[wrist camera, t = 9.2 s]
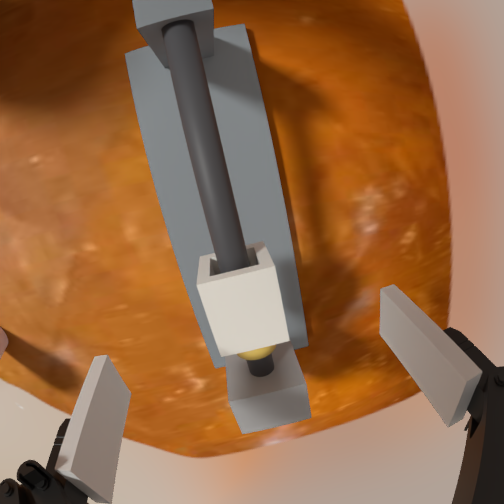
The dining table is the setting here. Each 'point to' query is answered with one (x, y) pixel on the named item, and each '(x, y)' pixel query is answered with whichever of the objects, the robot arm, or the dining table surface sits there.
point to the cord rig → (219, 185)
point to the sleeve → (243, 302)
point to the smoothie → (3, 342)
